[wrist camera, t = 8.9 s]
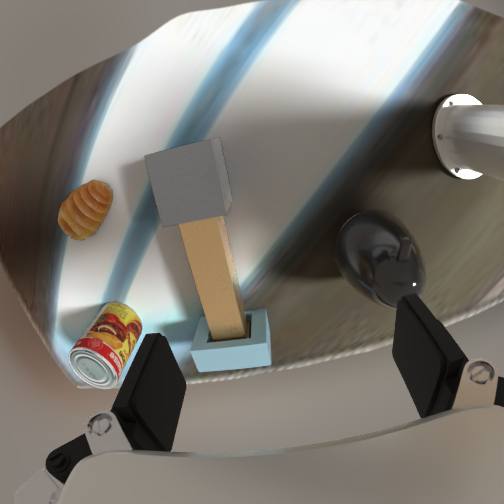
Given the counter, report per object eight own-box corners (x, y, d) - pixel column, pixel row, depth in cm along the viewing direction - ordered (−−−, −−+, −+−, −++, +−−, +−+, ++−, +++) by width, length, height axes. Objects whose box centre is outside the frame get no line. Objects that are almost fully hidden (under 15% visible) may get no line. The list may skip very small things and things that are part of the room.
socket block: (265, 307, 44) (266, 342, 36) (269, 329, 45) (271, 365, 38) (200, 316, 45) (190, 350, 37) (206, 336, 46) (198, 372, 39)
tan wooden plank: (219, 187, 36) (213, 196, 31) (251, 325, 44) (250, 347, 39) (180, 195, 36) (169, 205, 32) (218, 329, 44) (214, 351, 40)
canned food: (136, 346, 48) (113, 396, 37) (97, 326, 47) (67, 372, 36) (147, 315, 45) (121, 366, 34) (104, 293, 44) (69, 338, 33)
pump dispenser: (394, 195, 37) (457, 233, 23) (396, 264, 41) (446, 324, 27) (323, 206, 38) (359, 253, 24) (331, 277, 42) (361, 347, 28)
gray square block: (219, 137, 35) (210, 139, 28) (232, 199, 38) (226, 215, 31) (164, 150, 35) (144, 155, 29) (178, 210, 38) (162, 227, 32)
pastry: (96, 166, 36) (82, 171, 33) (125, 202, 38) (113, 209, 35) (61, 208, 39) (47, 216, 35) (88, 241, 41) (75, 251, 37)
